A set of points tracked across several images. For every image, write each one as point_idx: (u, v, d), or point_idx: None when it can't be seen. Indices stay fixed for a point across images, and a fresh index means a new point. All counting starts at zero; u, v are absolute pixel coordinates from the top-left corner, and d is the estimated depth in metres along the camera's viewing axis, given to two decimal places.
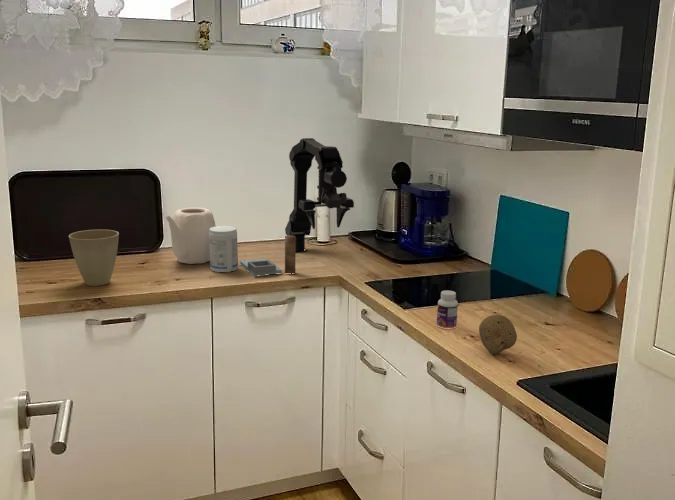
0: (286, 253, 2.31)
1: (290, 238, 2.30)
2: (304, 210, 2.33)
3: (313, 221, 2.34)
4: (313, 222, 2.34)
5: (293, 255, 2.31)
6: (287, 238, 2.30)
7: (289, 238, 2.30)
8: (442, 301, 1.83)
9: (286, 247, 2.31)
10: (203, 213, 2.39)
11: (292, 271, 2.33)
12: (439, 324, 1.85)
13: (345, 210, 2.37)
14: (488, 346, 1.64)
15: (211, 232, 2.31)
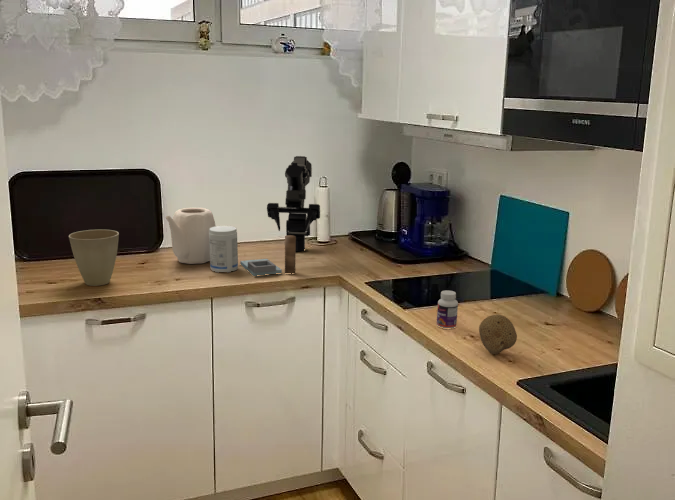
0: (286, 253, 2.31)
1: (290, 238, 2.30)
2: (270, 214, 2.42)
3: (277, 221, 2.39)
4: (277, 222, 2.39)
5: (293, 255, 2.31)
6: (287, 238, 2.30)
7: (289, 238, 2.30)
8: (442, 301, 1.83)
9: (286, 247, 2.31)
10: (203, 213, 2.39)
11: (292, 271, 2.33)
12: (439, 324, 1.85)
13: (310, 211, 2.40)
14: (488, 346, 1.64)
15: (211, 232, 2.31)
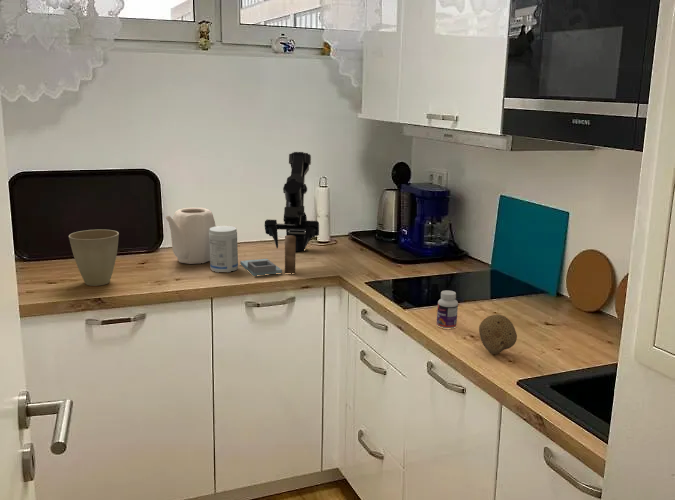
0: (286, 253, 2.31)
1: (290, 238, 2.30)
2: (268, 231, 2.37)
3: (275, 238, 2.34)
4: (275, 239, 2.34)
5: (293, 255, 2.31)
6: (287, 238, 2.30)
7: (289, 238, 2.30)
8: (442, 301, 1.83)
9: (286, 247, 2.31)
10: (203, 213, 2.39)
11: (292, 271, 2.33)
12: (439, 324, 1.85)
13: (309, 228, 2.34)
14: (488, 346, 1.64)
15: (211, 232, 2.31)
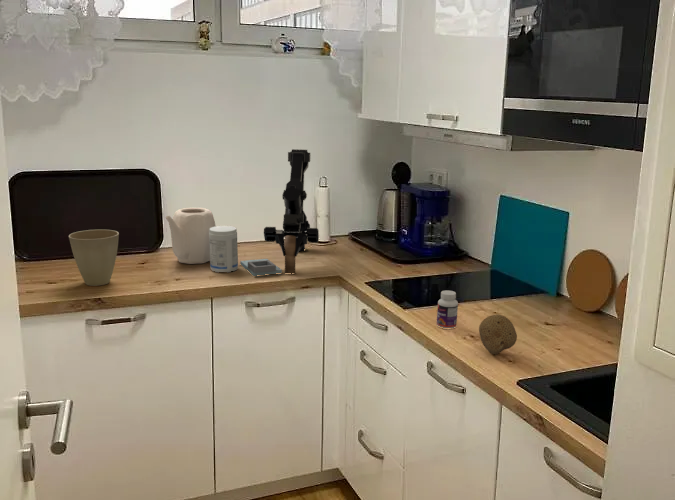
0: (286, 253, 2.31)
1: (290, 238, 2.30)
2: (275, 239, 2.35)
3: (282, 246, 2.32)
4: (282, 247, 2.32)
5: (293, 255, 2.31)
6: (287, 238, 2.30)
7: (289, 238, 2.30)
8: (442, 301, 1.83)
9: (286, 246, 2.31)
10: (203, 213, 2.39)
11: (292, 271, 2.33)
12: (439, 324, 1.85)
13: (300, 236, 2.32)
14: (488, 346, 1.64)
15: (211, 232, 2.31)
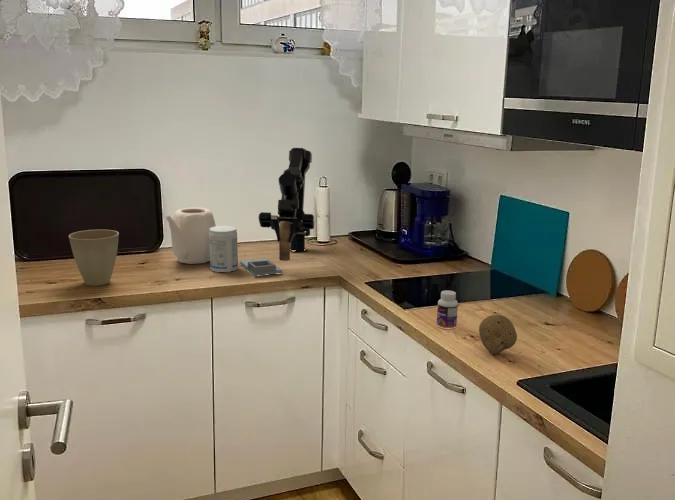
0: (280, 239, 2.30)
1: (284, 224, 2.28)
2: (270, 224, 2.34)
3: (277, 232, 2.30)
4: (277, 233, 2.30)
5: (287, 241, 2.30)
6: (281, 224, 2.28)
7: (283, 224, 2.28)
8: (442, 301, 1.83)
9: (280, 232, 2.29)
10: (203, 213, 2.39)
11: (286, 257, 2.31)
12: (439, 324, 1.85)
13: (295, 221, 2.31)
14: (488, 346, 1.64)
15: (211, 232, 2.31)
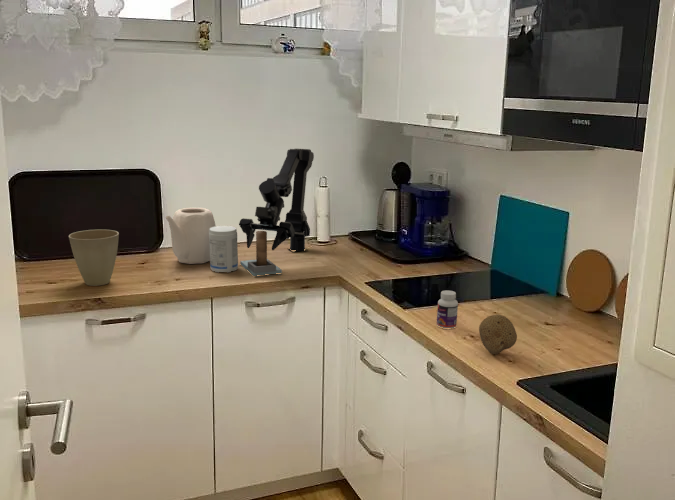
0: (256, 248, 2.30)
1: (259, 234, 2.28)
2: (244, 230, 2.35)
3: (247, 238, 2.32)
4: (247, 239, 2.32)
5: (263, 251, 2.30)
6: (257, 233, 2.29)
7: (259, 234, 2.28)
8: (442, 301, 1.83)
9: (256, 242, 2.30)
10: (203, 213, 2.39)
11: None
12: (439, 324, 1.85)
13: (279, 230, 2.29)
14: (488, 346, 1.64)
15: (211, 232, 2.31)
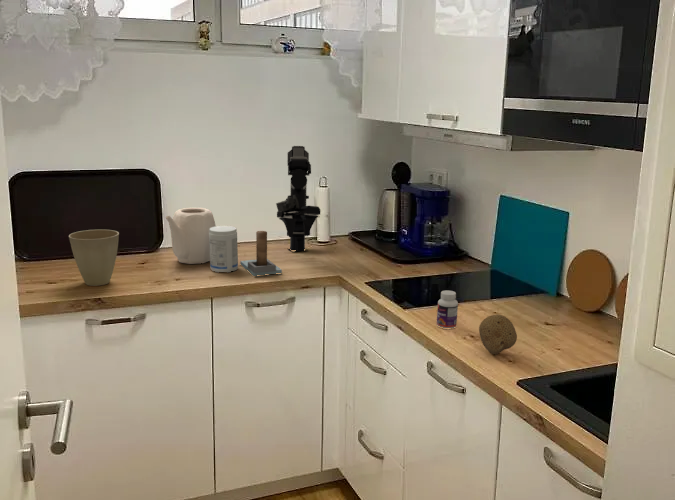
0: (257, 248, 2.30)
1: (260, 234, 2.28)
2: None
3: (287, 229, 2.47)
4: (287, 230, 2.47)
5: (263, 251, 2.30)
6: (257, 233, 2.28)
7: (259, 234, 2.28)
8: (442, 301, 1.83)
9: (256, 242, 2.29)
10: (203, 213, 2.39)
11: None
12: (439, 324, 1.85)
13: (302, 216, 2.37)
14: (488, 346, 1.64)
15: (211, 232, 2.31)
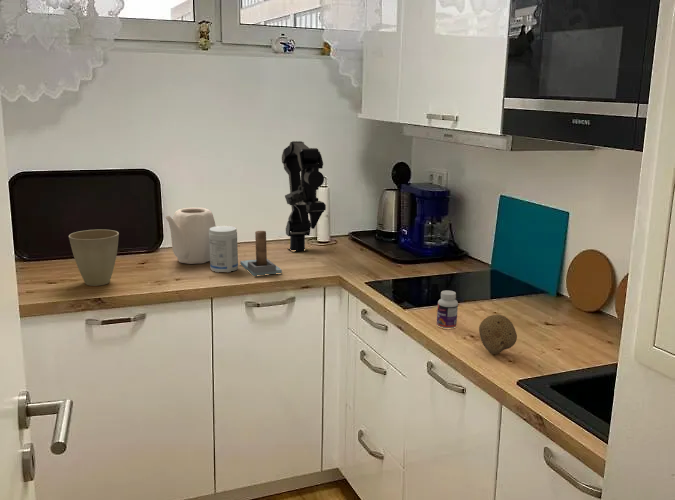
0: (256, 248, 2.30)
1: (259, 233, 2.28)
2: None
3: (300, 215, 2.52)
4: (300, 216, 2.52)
5: (263, 251, 2.30)
6: (256, 233, 2.29)
7: (258, 233, 2.28)
8: (442, 301, 1.83)
9: (256, 242, 2.30)
10: (203, 213, 2.39)
11: None
12: (439, 324, 1.85)
13: (308, 212, 2.40)
14: (488, 346, 1.64)
15: (211, 232, 2.31)
